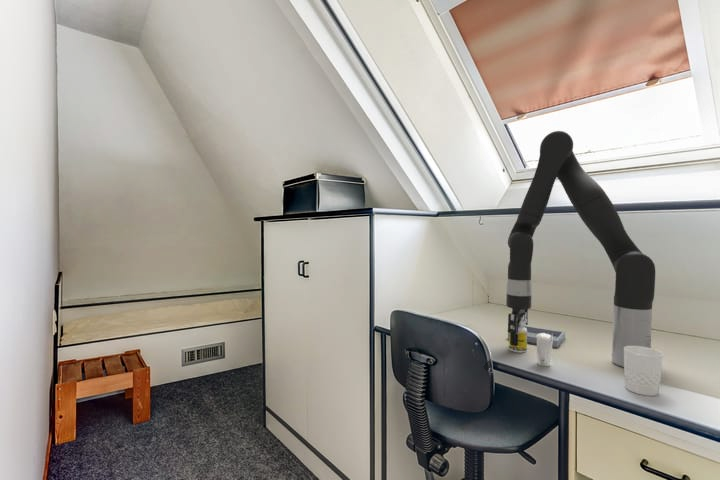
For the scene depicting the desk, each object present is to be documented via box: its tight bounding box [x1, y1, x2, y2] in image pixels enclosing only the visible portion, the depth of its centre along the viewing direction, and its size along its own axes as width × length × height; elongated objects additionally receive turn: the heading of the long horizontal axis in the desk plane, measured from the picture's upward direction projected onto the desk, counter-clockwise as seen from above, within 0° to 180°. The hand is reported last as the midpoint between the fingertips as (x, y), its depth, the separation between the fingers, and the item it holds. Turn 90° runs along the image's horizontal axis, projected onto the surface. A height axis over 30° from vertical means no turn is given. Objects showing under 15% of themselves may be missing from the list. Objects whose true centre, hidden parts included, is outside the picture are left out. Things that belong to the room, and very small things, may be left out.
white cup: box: [623, 346, 664, 397], centre depth 96 cm, size 8×8×10 cm
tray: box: [507, 325, 566, 349], centre depth 139 cm, size 16×14×2 cm
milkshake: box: [536, 333, 553, 367], centre depth 113 cm, size 5×5×10 cm
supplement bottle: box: [508, 321, 528, 354], centre depth 126 cm, size 5×5×10 cm
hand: (517, 342), depth 126 cm, fingers open, 8 cm apart
